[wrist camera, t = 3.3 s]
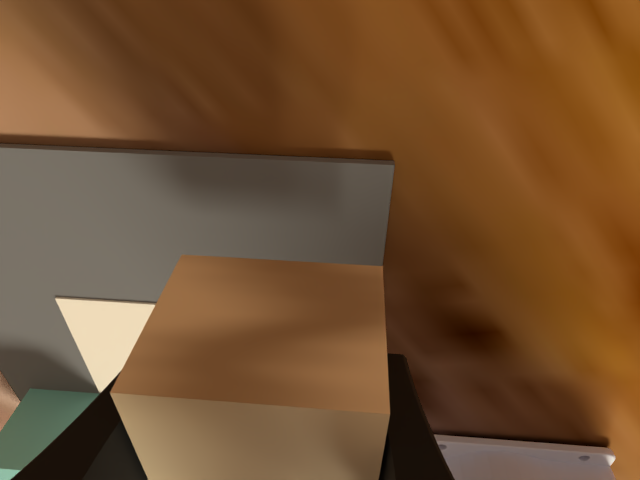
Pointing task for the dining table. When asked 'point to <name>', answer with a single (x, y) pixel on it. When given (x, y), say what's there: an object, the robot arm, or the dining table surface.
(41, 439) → the teal cube
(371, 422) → the maple block
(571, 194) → the dining table surface
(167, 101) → the dining table surface
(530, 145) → the dining table surface
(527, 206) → the dining table surface
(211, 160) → the grey flat slab
